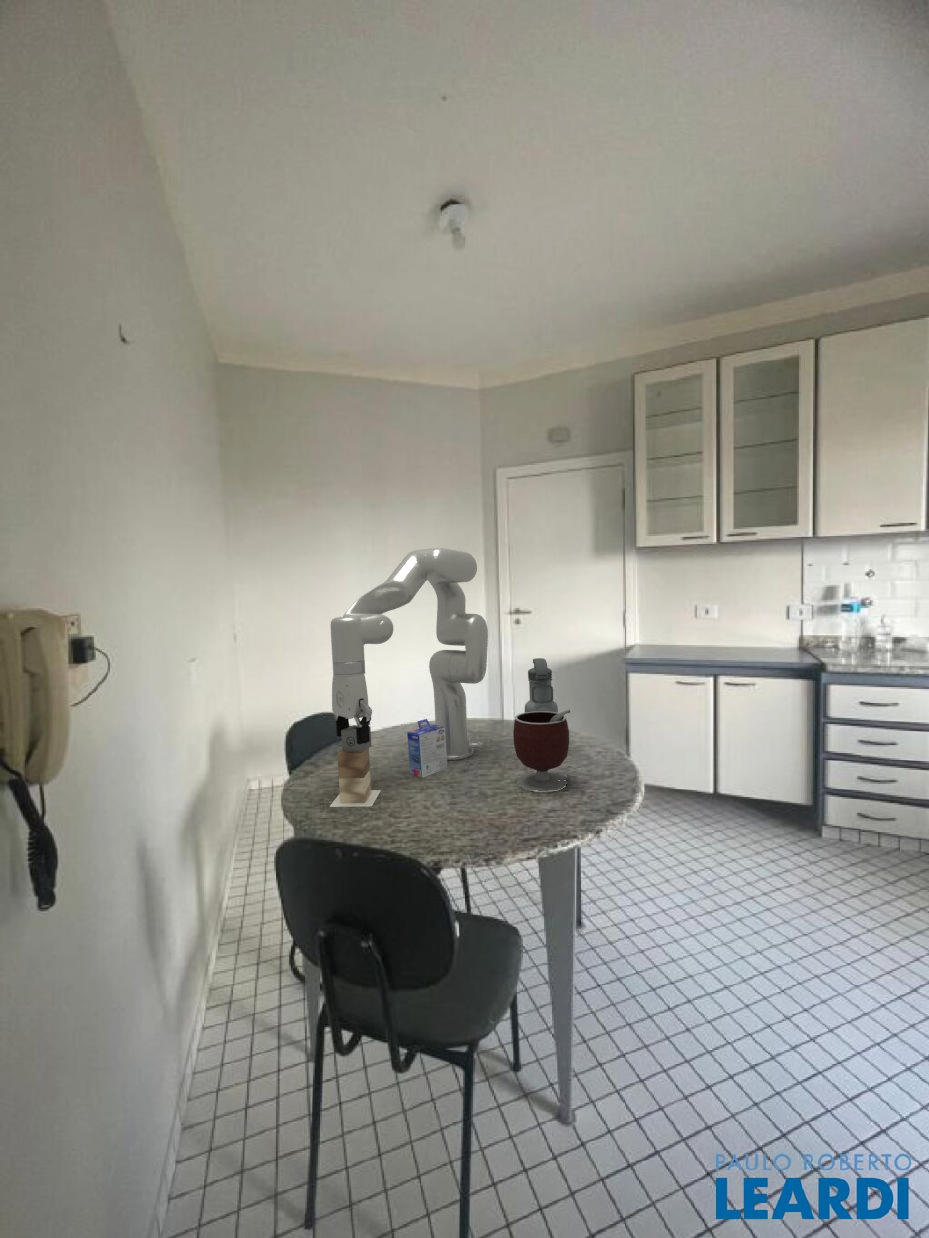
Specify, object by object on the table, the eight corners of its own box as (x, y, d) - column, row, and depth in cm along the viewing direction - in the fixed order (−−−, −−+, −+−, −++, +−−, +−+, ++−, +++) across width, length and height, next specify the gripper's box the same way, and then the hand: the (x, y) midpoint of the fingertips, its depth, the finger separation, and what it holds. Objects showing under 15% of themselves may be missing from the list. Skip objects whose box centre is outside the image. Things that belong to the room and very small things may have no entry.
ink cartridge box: (434, 765, 157) (432, 715, 156) (448, 769, 153) (446, 718, 152) (408, 775, 150) (405, 723, 149) (422, 780, 146) (419, 726, 145)
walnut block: (369, 769, 136) (368, 745, 135) (363, 777, 130) (362, 752, 129) (346, 769, 136) (344, 745, 136) (338, 778, 130) (337, 753, 130)
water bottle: (561, 758, 159) (559, 661, 157) (527, 759, 159) (524, 663, 157) (556, 747, 169) (553, 657, 167) (524, 749, 169) (521, 658, 167)
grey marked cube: (353, 745, 136) (352, 725, 136) (371, 746, 134) (370, 726, 134) (342, 751, 132) (341, 730, 131) (360, 752, 130) (359, 731, 130)
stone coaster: (381, 792, 138) (381, 790, 138) (371, 808, 128) (371, 806, 128) (342, 792, 139) (342, 790, 139) (329, 809, 129) (329, 806, 129)
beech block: (371, 793, 136) (370, 769, 136) (365, 802, 130) (363, 777, 130) (347, 793, 137) (346, 769, 136) (340, 803, 131) (338, 778, 130)
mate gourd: (503, 785, 139) (501, 707, 138) (536, 770, 149) (533, 697, 148) (555, 800, 129) (553, 715, 127) (586, 783, 139) (584, 704, 137)
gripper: (318, 667, 136) (322, 735, 137) (353, 674, 122) (357, 749, 124) (345, 663, 140) (349, 729, 142) (382, 669, 127) (385, 742, 128)
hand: (352, 739), depth 133 cm, fingers open, 9 cm apart
